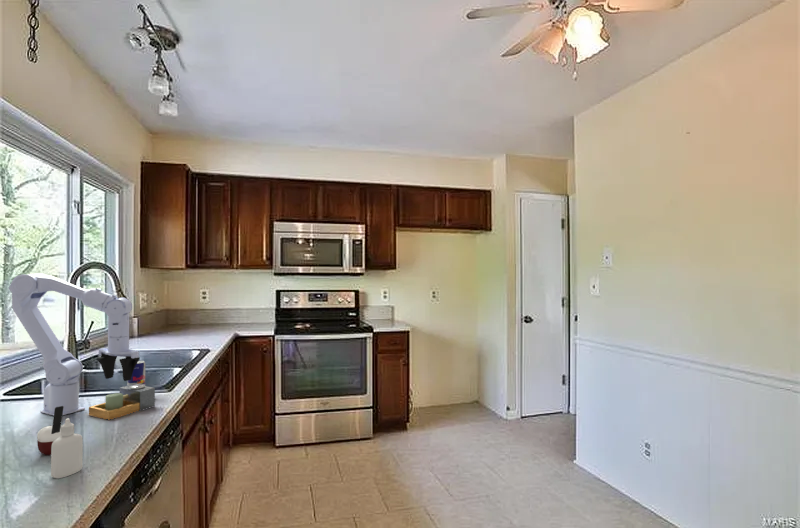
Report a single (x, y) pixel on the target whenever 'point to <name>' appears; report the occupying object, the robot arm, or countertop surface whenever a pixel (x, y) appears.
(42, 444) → the cocoa
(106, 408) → the spout can
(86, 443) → the countertop surface
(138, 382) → the energy drink
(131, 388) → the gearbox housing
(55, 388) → the robot arm
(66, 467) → the eye dropper bottle
